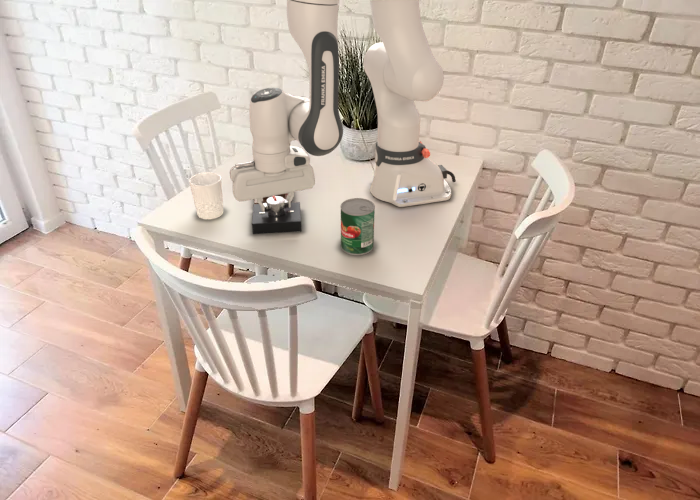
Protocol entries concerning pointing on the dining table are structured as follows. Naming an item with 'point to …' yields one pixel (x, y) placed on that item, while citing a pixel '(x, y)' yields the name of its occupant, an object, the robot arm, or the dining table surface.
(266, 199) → the button box
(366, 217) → the canned tomato
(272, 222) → the hob panel
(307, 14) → the robot arm
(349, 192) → the dining table surface
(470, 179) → the dining table surface
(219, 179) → the white cup
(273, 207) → the hob knob
